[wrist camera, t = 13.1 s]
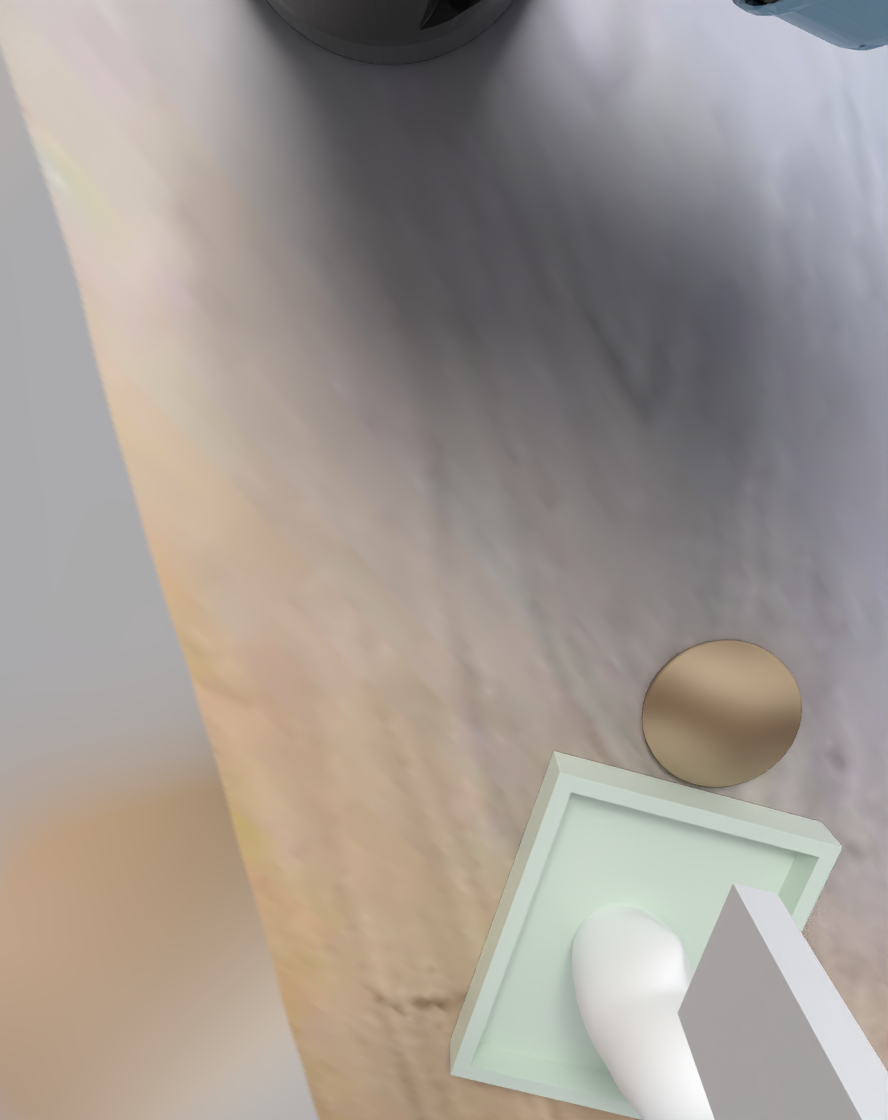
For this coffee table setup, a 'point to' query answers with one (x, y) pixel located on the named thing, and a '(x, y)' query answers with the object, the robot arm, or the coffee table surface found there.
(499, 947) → the tray
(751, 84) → the coffee table surface
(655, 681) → the metal coaster
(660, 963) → the figurine
